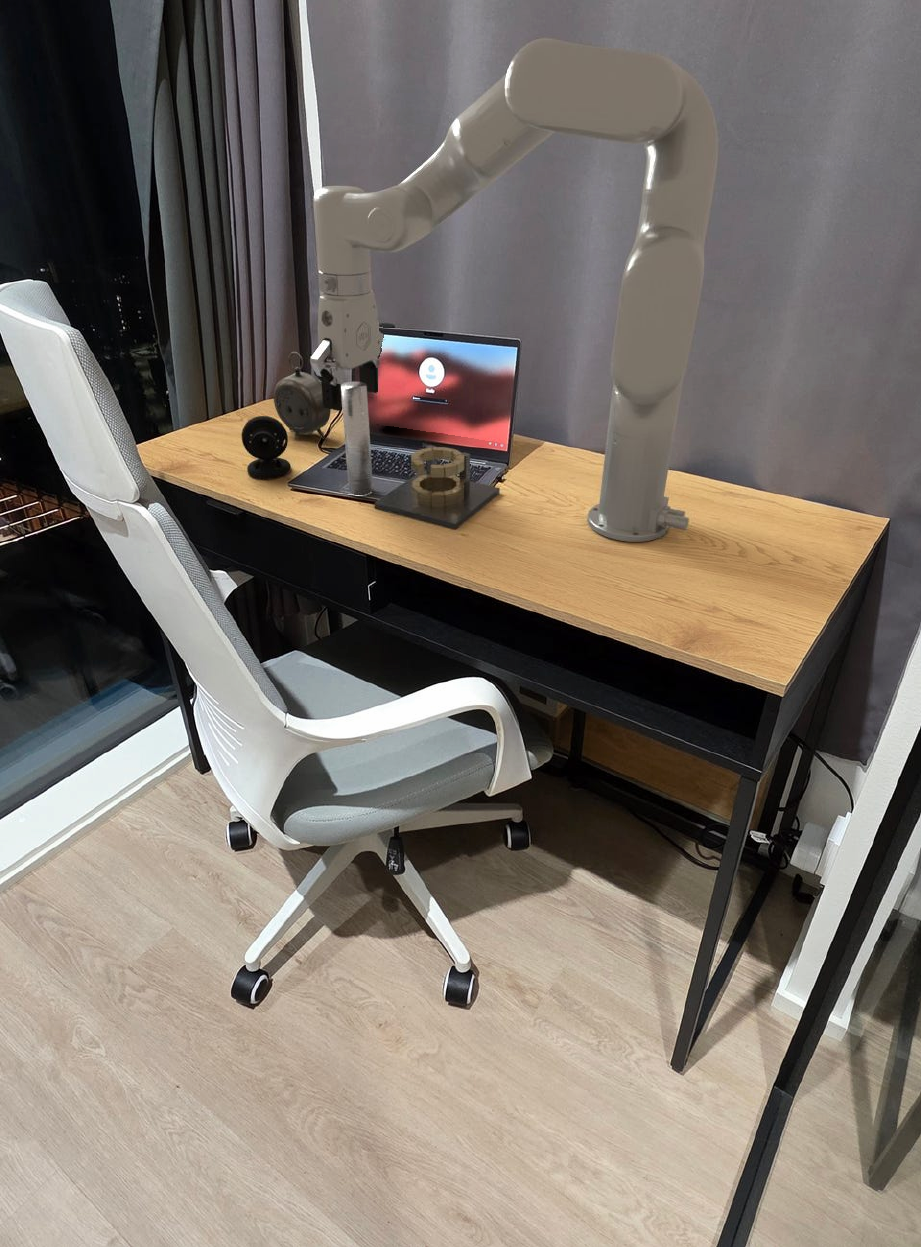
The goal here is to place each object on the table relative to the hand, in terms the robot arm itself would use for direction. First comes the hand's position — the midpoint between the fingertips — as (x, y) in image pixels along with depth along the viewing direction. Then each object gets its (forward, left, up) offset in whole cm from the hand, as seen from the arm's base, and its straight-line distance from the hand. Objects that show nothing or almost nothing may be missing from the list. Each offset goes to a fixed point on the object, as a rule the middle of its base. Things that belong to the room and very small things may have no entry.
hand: (351, 399), depth 125 cm
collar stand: (-14, -4, -16) cm, 21 cm away
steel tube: (-1, 0, -16) cm, 16 cm away
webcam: (+18, +1, -16) cm, 24 cm away
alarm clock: (+23, -15, -16) cm, 32 cm away
